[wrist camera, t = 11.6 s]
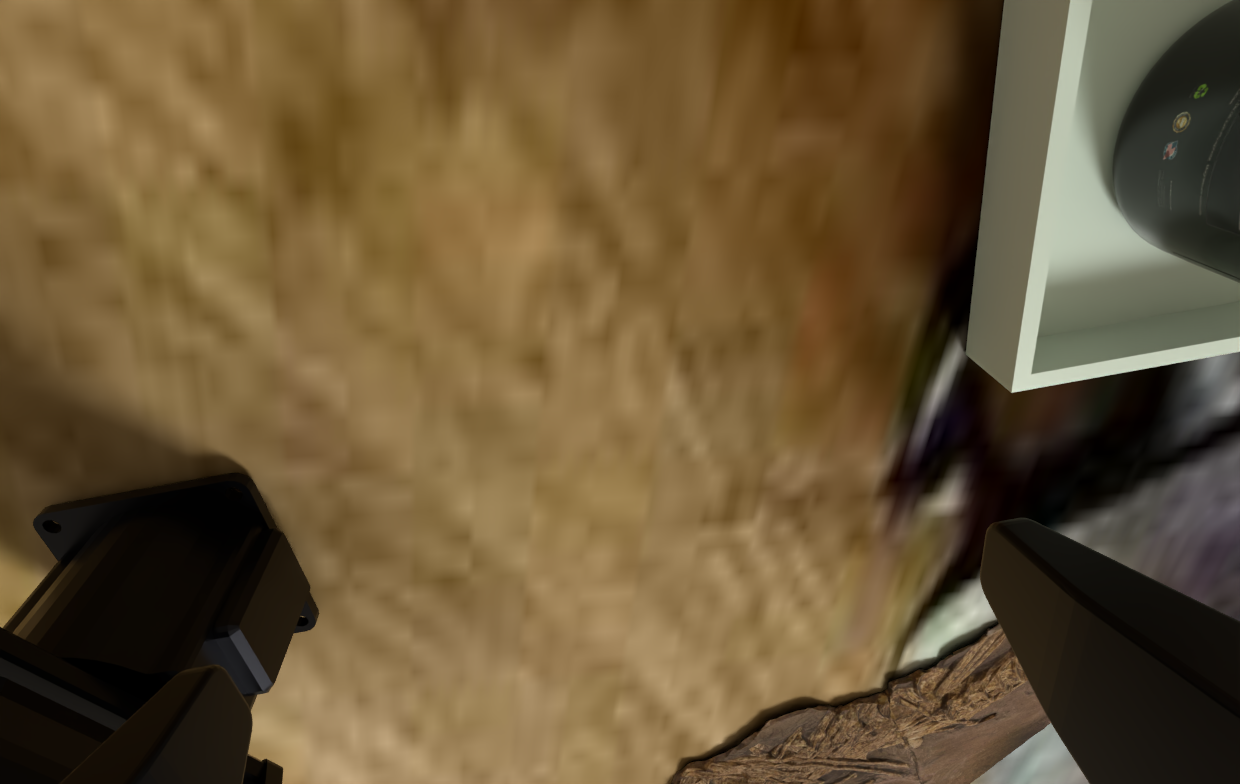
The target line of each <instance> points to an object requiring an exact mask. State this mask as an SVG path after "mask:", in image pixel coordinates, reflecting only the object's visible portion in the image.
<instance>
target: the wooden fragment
mask: <svg viewBox="0 0 1240 784" xmlns="http://www.w3.org/2000/svg"><path fill="white" fill-rule="evenodd" d="M953 654H954V655H949V656H947V657H946V658H945V659H943V660H941V661H940V662H939V663H938V664H937V665H936V666H934V667H932V668H930V669H928V670H921V669H920V670H917V671H915V672H914V673H912V674H910V675H907V676H906V677H902V678H899V679H896V680H893V681H891V682H889V683H888V688H887V690H885V691H884V692H882V693H877V694H874V695H872V696H870V697H868V698H866V697H865V698H858V699H856V700H854V701H852V702H851V703H849V704H847V705H845V706H841V705H839V706H838V707H837V708H834V707H831V706H829V705H826V706H820V705H818V706H817V707H814V708H807V709H806V710H797V711H794V712H792V713H789V714H786V715H783V716H781V717H778V718H776V719H772V720H768V721H767V722H766V723H765V726H764V727H763V728H762V729H761V730H760V731H759V732H754V733H753V734H751V735H750V736H749V737H748V738H745V739H744V740H743V741H742V742H741V743H740V744H739V745H738V746H736V747H734V748H732V749H730V750H728V751H727V752H726V753H722V754H720V755H717V756H714V757H713V758H711V759H708V760H706V761H696V762H691V763H689V764H687V765H686V766H685V767H684V768H683V769H682V770H680V771H679V772H677V773H676V774H675V776H674V777H673V780H672V783H671V784H970V783H971V782H973V781H974V780H975V779H977V778H978V777H980V776H981V775H982V774H984V773H985V772H986V771H987V770H989V769H990V768H991V767H993V766H994V765H995V764H996V763H998V762H999V761H1001V760H1002V759H1003V758H1004V757H1006V756H1007V755H1008V754H1010V753H1011V752H1012V751H1014V750H1015V749H1016V748H1018V747H1019V746H1021V745H1022V744H1023V743H1025V742H1026V741H1027V740H1028V739H1029V738H1031V737H1032V736H1034V735H1035V734H1037V733H1038V732H1040V731H1041V730H1043V729H1044V728H1045V727H1046V726H1047V725H1048V724H1050V723H1051V722H1050V720H1049V719H1048V717H1047V715H1046V713H1045V712H1044V710H1043V708H1042V706H1041V704H1040V702H1039V700H1038V699H1037V697H1036V695H1035V693H1034V691H1033V689H1032V687H1031V685H1030V683H1029V681H1028V679H1027V677H1026V675H1025V673H1024V671H1023V669H1022V667H1021V665H1020V663H1019V661H1018V659H1017V657H1016V655H1015V653H1014V652H1013V650H1012V648H1011V646H1010V644H1009V642H1008V640H1007V638H1006V636H1005V634H1004V632H1003V630H1002V628H1001V626H1000V624H998V625H997V626H995V627H994V628H992V629H989V628H988V629H987V631H986V632H985V634H984V635H982V636H981V638H980V639H979V640H978V641H977V642H975V643H973V644H970V645H968V646H966V647H964V648H961V649H959V650H957V651H955V652H953Z"/></svg>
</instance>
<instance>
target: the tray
mask: <svg viewBox="0 0 1240 784" xmlns="http://www.w3.org/2000/svg"><path fill="white" fill-rule="evenodd" d="M1230 1H1232V0H1004V7H1003V16H1002V26H1001V35H1000V44H999V53H998V62H997V71H996V80H995V90H994V99H993V108H992V117H991V126H990V135H989V144H988V154H987V163H986V172H985V181H984V190H983V199H982V208H981V217H980V227H979V236H978V245H977V254H976V263H975V272H974V281H973V291H972V300H971V309H970V318H969V327H968V336H967V345H966V355H967V356H969V357H970V358H971V359H972V360H973V361H974V362H976V363H977V364H978V365H979V366H980V367H982V368H983V369H984V370H985V371H986V372H988V373H989V374H990V375H991V376H992V377H993V378H995V379H996V380H997V381H998V382H999V383H1001V384H1002V385H1003V386H1004V387H1005V388H1006V389H1008V390H1009V391H1010V392H1011V393H1013V392H1018V391H1024V390H1029V389H1035V388H1040V387H1046V386H1051V385H1057V384H1063V383H1068V382H1074V381H1079V380H1085V379H1090V378H1096V377H1101V376H1107V375H1113V374H1118V373H1124V372H1129V371H1135V370H1140V369H1146V368H1151V367H1157V366H1162V365H1168V364H1174V363H1179V362H1185V361H1190V360H1196V359H1201V358H1207V357H1212V356H1218V355H1224V354H1229V353H1235V352H1240V283H1238V282H1236V281H1233V280H1231V279H1229V278H1226V277H1224V276H1221V275H1219V274H1216V273H1214V272H1211V271H1209V270H1207V269H1204V268H1202V267H1199V266H1197V265H1194V264H1192V263H1190V262H1187V261H1185V260H1183V259H1181V258H1178V257H1176V256H1174V255H1171V254H1169V253H1167V252H1164V251H1162V250H1160V249H1158V248H1156V247H1155V246H1153V245H1151V244H1149V243H1148V242H1146V241H1145V240H1143V239H1142V238H1141V237H1140V236H1139V235H1138V234H1137V233H1136V232H1135V231H1134V230H1133V229H1132V228H1131V227H1130V226H1129V224H1128V223H1127V222H1126V220H1125V218H1124V217H1123V215H1122V213H1121V211H1120V208H1119V206H1118V203H1117V200H1116V196H1115V192H1114V186H1113V175H1112V167H1113V155H1114V149H1115V143H1116V139H1117V135H1118V131H1119V128H1120V126H1121V123H1122V120H1123V117H1124V115H1125V113H1126V110H1127V108H1128V106H1129V104H1130V102H1131V100H1132V98H1133V96H1134V94H1135V92H1136V91H1137V89H1138V88H1139V86H1140V84H1141V83H1142V81H1143V80H1144V78H1145V77H1146V75H1147V74H1148V73H1149V71H1150V70H1151V68H1152V67H1153V66H1154V65H1155V63H1156V62H1157V61H1158V60H1159V59H1160V57H1161V56H1162V55H1163V54H1164V53H1165V52H1166V51H1167V50H1168V49H1169V47H1170V46H1171V45H1172V44H1173V43H1174V42H1175V41H1176V40H1177V39H1179V38H1180V37H1181V36H1182V35H1183V34H1184V33H1185V32H1186V31H1187V30H1189V29H1190V28H1191V27H1192V26H1194V25H1195V24H1196V23H1197V22H1199V21H1200V20H1202V19H1203V18H1204V17H1206V16H1207V15H1209V14H1210V13H1211V12H1213V11H1215V10H1216V9H1218V8H1220V7H1221V6H1223V5H1224V4H1226V3H1228V2H1230Z"/></svg>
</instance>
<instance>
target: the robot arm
mask: <svg viewBox="0 0 1240 784" xmlns="http://www.w3.org/2000/svg"><path fill="white" fill-rule="evenodd" d="M230 487H233V488H237V489H239V490H240V491H241V492H242V493H237V492H234V491H233V490H232V489H231V488H230ZM52 520H53V521H55V522H57V523H59V524H60V525H59V524H56V523H54V522H53V521H52ZM33 526H34V528H35V530H36V531H37V533H38V534H39V535H40V537H41V538H42V540H43V541H44V542H45V544H46V545H47V546H48V548H49V549H50V551H51V552H52V553H53V555H54V556H55V557H56V559H57V560H58V563H57V564H56V565H55V566H54V567H53V569H52V570H51V571H50V572H49V573H48V575H47V576H46V577H45V578H44V579H43V581H42V582H41V583H40V584H39V585H38V586H37V588H36V589H35V590H34V591H33V592H32V594H31V595H30V596H29V597H28V598H27V600H26V601H25V602H24V603H23V604H22V606H21V607H20V608H19V609H18V610H17V612H16V613H15V614H14V615H13V616H12V617H11V619H10V620H9V621H8V622H7V623H6V625H5V626H4V627H3V628H1V627H0V784H282V777H283V767H281V766H279V765H277V764H275V763H273V762H271V761H269V760H267V759H264V760H262V761H261V760H259V759H257V758H255V757H253V756H251V755H249V754H248V750H249V744H250V738H251V733H252V714H251V709H252V707H253V704H254V702H255V699H256V697H257V694H263V693H267V692H269V690H270V689H271V687H272V686H273V685H274V683H275V681H276V678H277V675H278V673H279V670H280V668H281V665H282V662H283V660H284V657H285V654H286V652H287V649H288V646H289V644H290V641H291V639H292V636H293V633H298V632H304V631H308V630H311V629H312V628H313V627H314V626H315V624H316V621H317V618H318V615H319V610H318V608H317V606H316V604H315V602H314V600H313V598H312V596H311V594H310V592H309V591H310V585H309V583H308V581H307V579H306V577H305V575H304V573H303V571H302V569H301V567H300V565H299V563H298V561H297V559H296V557H295V555H294V553H293V551H292V549H291V547H290V545H289V543H288V541H287V539H286V537H285V535H284V533H283V532H281V531H280V530H279V529H278V528H277V527H276V525H275V523H274V521H273V519H272V517H271V515H270V513H269V511H268V509H267V507H266V505H265V503H264V501H263V499H262V497H261V495H260V493H259V491H258V489H257V487H256V485H255V483H254V482H253V481H252V479H251V478H249V477H248V476H246V475H243V474H240V473H230V474H225V475H219V476H213V477H208V478H202V479H197V480H191V481H185V482H180V483H174V484H169V485H163V486H157V487H152V488H146V489H141V490H135V491H129V492H124V493H118V494H113V495H107V496H101V497H96V498H90V499H85V500H79V501H74V502H68V503H62V504H57V505H51V506H48V507H46V508H44V509H43V510H42V512H41V513H40V514H39V515H38V516H37V517H36V518H35V519H34V521H33ZM980 580H981V585H982V589H983V592H984V594H985V596H986V598H987V600H988V602H989V604H990V606H991V608H992V610H993V612H994V614H995V616H996V618H997V620H998V622H999V624H1000V626H1001V628H1002V630H1003V632H1004V634H1005V636H1006V638H1007V640H1008V642H1009V644H1010V646H1011V648H1012V650H1013V652H1014V653H1015V655H1016V657H1017V659H1018V661H1019V663H1020V665H1021V667H1022V669H1023V671H1024V673H1025V675H1026V677H1027V679H1028V681H1029V683H1030V685H1031V687H1032V689H1033V691H1034V693H1035V695H1036V697H1037V699H1038V700H1039V702H1040V704H1041V706H1042V708H1043V710H1044V712H1045V713H1046V715H1047V717H1048V719H1049V720H1050V722H1051V723H1052V725H1053V727H1054V728H1055V730H1056V732H1057V733H1058V735H1059V737H1060V738H1061V740H1062V741H1063V743H1064V744H1065V746H1066V747H1067V749H1068V751H1069V752H1070V754H1071V755H1072V757H1073V758H1074V760H1075V761H1076V763H1077V765H1078V766H1079V768H1080V769H1081V771H1082V772H1083V774H1084V775H1085V777H1086V779H1087V780H1088V782H1089V783H1090V784H1240V622H1239V621H1237V620H1235V619H1233V618H1231V617H1229V616H1227V615H1225V614H1223V613H1221V612H1219V611H1217V610H1215V609H1213V608H1211V607H1209V606H1207V605H1205V604H1203V603H1201V602H1199V601H1197V600H1195V599H1192V598H1190V597H1188V596H1186V595H1184V594H1182V593H1180V592H1178V591H1176V590H1174V589H1172V588H1170V587H1168V586H1166V585H1164V584H1162V583H1160V582H1158V581H1156V580H1154V579H1152V578H1150V577H1148V576H1146V575H1143V574H1141V573H1139V572H1137V571H1135V570H1133V569H1131V568H1129V567H1127V566H1125V565H1123V564H1121V563H1119V562H1117V561H1115V560H1113V559H1111V558H1109V557H1107V556H1105V555H1103V554H1101V553H1099V552H1096V551H1094V550H1092V549H1090V548H1088V547H1086V546H1084V545H1082V544H1080V543H1078V542H1076V541H1074V540H1072V539H1070V538H1068V537H1066V536H1064V535H1062V534H1060V533H1058V532H1056V531H1054V530H1052V529H1050V528H1047V527H1045V526H1043V525H1041V524H1039V523H1037V522H1035V521H1033V520H1030V519H1027V518H1017V519H1011V520H1006V521H1000V522H995V523H993V524H991V525H990V526H989V528H988V529H987V532H986V537H985V543H984V550H983V557H982V564H981V570H980ZM300 616H304V617H300Z"/></svg>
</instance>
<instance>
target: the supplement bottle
mask: <svg viewBox="0 0 1240 784" xmlns="http://www.w3.org/2000/svg"><path fill="white" fill-rule="evenodd" d="M1112 175H1113V186H1114V192H1115V196H1116V200H1117V203H1118V206H1119V208H1120V211H1121V213H1122V215H1123V217H1124V218H1125V220H1126V222H1127V223H1128V224H1129V226H1130V227H1131V228H1132V229H1133V230H1134V231H1135V232H1136V233H1137V234H1138V235H1139V236H1140V237H1141V238H1142V239H1143V240H1145V241H1146V242H1148V243H1149V244H1151V245H1153V246H1155V247H1156V248H1158V249H1160V250H1162V251H1164V252H1167V253H1169V254H1171V255H1174V256H1176V257H1178V258H1181V259H1183V260H1185V261H1187V262H1190V263H1192V264H1194V265H1197V266H1199V267H1202V268H1204V269H1207V270H1209V271H1211V272H1214V273H1216V274H1219V275H1221V276H1224V277H1226V278H1229V279H1231V280H1233V281H1236V282H1238V283H1240V0H1232V1H1230V2H1228V3H1226V4H1224V5H1223V6H1221V7H1220V8H1218V9H1216V10H1215V11H1213V12H1211V13H1210V14H1209V15H1207V16H1206V17H1204V18H1203V19H1202V20H1200V21H1199V22H1197V23H1196V24H1195V25H1194V26H1192V27H1191V28H1190V29H1189V30H1187V31H1186V32H1185V33H1184V34H1183V35H1182V36H1181V37H1180V38H1179V39H1177V40H1176V41H1175V42H1174V43H1173V44H1172V45H1171V46H1170V47H1169V49H1168V50H1167V51H1166V52H1165V53H1164V54H1163V55H1162V56H1161V57H1160V59H1159V60H1158V61H1157V62H1156V63H1155V65H1154V66H1153V67H1152V68H1151V70H1150V71H1149V73H1148V74H1147V75H1146V77H1145V78H1144V80H1143V81H1142V83H1141V84H1140V86H1139V88H1138V89H1137V91H1136V92H1135V94H1134V96H1133V98H1132V100H1131V102H1130V104H1129V106H1128V108H1127V110H1126V113H1125V115H1124V117H1123V120H1122V123H1121V126H1120V128H1119V131H1118V135H1117V139H1116V143H1115V149H1114V155H1113V167H1112Z"/></svg>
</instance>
